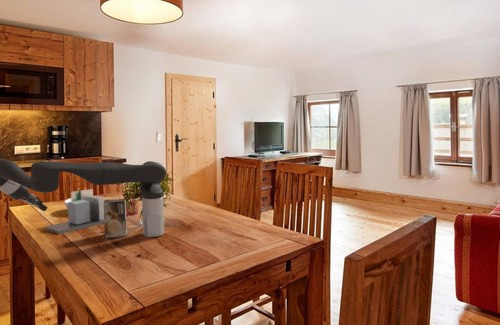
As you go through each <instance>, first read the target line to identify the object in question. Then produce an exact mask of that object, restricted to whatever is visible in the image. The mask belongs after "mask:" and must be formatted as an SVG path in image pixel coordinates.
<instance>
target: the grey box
mask: <svg viewBox="0 0 500 325" xmlns="http://www.w3.org/2000/svg"><path fill="white" fill-rule="evenodd" d="M78 191H79V200H78V201H72V202H68V209H67V210H68V211H67V214H68V215H67V216H68V218H67V219H68V221H69V222H70V223H73V224H76V225H77V224H81V223H85V222H90V204H89V201H85V200H81V191H82V190H81V189H78Z"/></svg>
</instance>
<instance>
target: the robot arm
mask: <svg viewBox="0 0 500 325" xmlns="http://www.w3.org/2000/svg"><path fill="white" fill-rule="evenodd" d="M61 172H62V173H69V174H73V175H75V176H77V177H79V178H82V179H83V180H85V181H87V182H88V183H90V184H92V185H95V186H103V185H104V186H105V185H106V186H109V185H118V184H119V185H121V184H130V183H131V182H132V183H139V184H140V185H139V188H140V189H139V190H140V192H141V199H142V201H141V203H142V205H141V206H142V209H141V210H142V211H141V212H142V235H143V237H146V238H154V237H155V238H156V237H162V235H164V234H165V233H164V232H165V230H164V229H165V225H164V222H165V220H164V217H165V216H164V191H163V189H162V187H161V182H162V181H163V180H165V178H166V177H167V170H166V168H165V167H164V166H163V164H162V163H160V162H157V161H156V162H155V161H153V160H152V161H146V162H143V163H142V164H129V163H128V164H127V163H122V162H110V161H109V162H108V161H107V162H106V161H105V162H102V161H99V162H96V161H95V162H66V161H64V162H63V161H46V160H45V161H42V160H41V161H36V162H33V163H32V164H31V167H30V175H29V174H27V172H26V171H25V170H24V169H23V168H22V167H21V166H19V165H18V164H17V163H15V162H14V161H12V160H10V159H5V158H1V157H0V192H2V193H4V194H6V195H7V196H8V197H10V198H11V199H13V200H14V201H19V200H21V201H23V202H26V203H27V204H28V205H31V206H34V207H36V208H38V209H39V210H41V211H42V212H46V211H47V210H48V206H46V205H45V204H43V201H42V200H41V199H40V198H39V197H38V196H36V195H35V194H34V193H32V192H29V190H32V191H34V192H38V193H44V194H45V193H52V192H55V191H57V190H58V189H59V188H60V187H59V186H60V173H61Z"/></svg>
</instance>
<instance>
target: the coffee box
mask: <svg viewBox="0 0 500 325" xmlns="http://www.w3.org/2000/svg"><path fill="white" fill-rule="evenodd" d="M127 223H128V222H127V213H126V200H125V199H124V198H115V199H114V198H113V199H112V198H110V199H109V198H108V199H105V200H104V223H103V224H104V238H105V239H106V238H107V239H109V238H117V237H127V234H128V229H127Z"/></svg>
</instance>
